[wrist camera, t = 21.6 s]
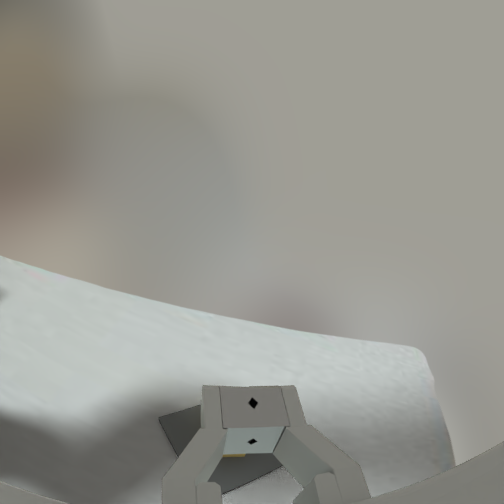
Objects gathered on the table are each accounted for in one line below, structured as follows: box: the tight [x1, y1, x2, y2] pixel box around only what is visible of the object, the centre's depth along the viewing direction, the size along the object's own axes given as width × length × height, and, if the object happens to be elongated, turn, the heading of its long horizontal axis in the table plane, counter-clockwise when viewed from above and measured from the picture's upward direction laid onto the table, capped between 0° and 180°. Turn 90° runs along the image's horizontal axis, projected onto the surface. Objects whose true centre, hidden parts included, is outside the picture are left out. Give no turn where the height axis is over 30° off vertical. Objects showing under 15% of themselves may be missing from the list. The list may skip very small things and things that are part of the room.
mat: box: [159, 405, 282, 494], centre depth 38 cm, size 15×14×1 cm
